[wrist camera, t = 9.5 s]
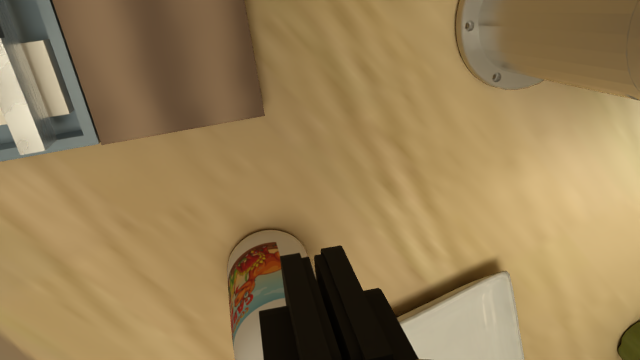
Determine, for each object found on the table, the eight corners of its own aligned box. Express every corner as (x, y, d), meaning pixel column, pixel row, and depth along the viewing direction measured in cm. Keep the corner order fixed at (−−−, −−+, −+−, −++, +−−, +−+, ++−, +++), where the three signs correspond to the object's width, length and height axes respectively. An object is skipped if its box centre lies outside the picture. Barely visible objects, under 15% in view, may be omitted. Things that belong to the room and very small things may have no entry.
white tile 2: (52, 38, 30) (42, 40, 29) (77, 107, 32) (69, 113, 31) (-26, 49, 30) (-41, 51, 28) (4, 119, 32) (-8, 126, 30)
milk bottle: (302, 220, 41) (376, 388, 23) (310, 287, 44) (381, 482, 26) (220, 235, 39) (229, 428, 21) (233, 303, 43) (252, 522, 24)
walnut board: (213, -155, 29) (213, -172, 26) (260, 107, 36) (264, 115, 33) (19, -141, 27) (-2, -158, 24) (110, 134, 34) (101, 145, 31)
